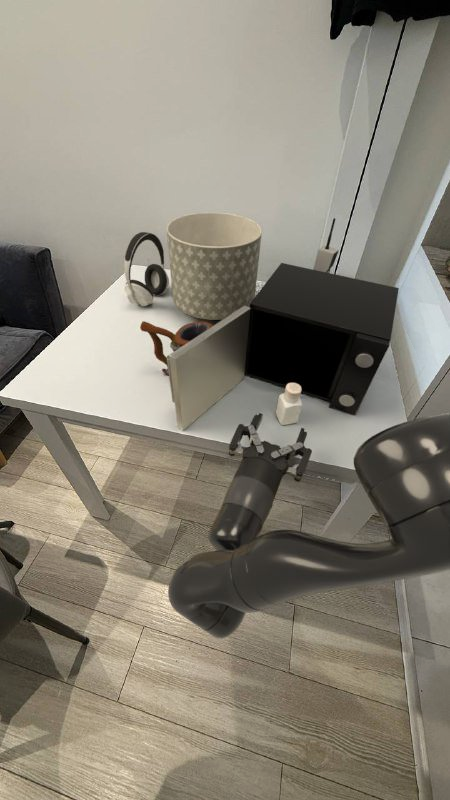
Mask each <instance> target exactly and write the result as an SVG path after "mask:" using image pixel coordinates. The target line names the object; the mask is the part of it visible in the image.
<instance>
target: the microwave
mask: <svg viewBox="0 0 450 800" xmlns="http://www.w3.org/2000/svg"><path fill="white" fill-rule="evenodd" d="M398 296H399V287H397V286H396V287H395V286H391V285H387V284H382V283H378V282H373V281H368V280H364V279H358V278H354V277H349V276H345V275H340V274H336V273H326V272H322V271H317V270H314V269H312V268H307V267H303V266H298V265H293V264H290V263H289V264H288V263H285V262H280V264H279V265H278V266H277V268H276V269H275V270H274V272H273V273H272V274H271V276H270V277H269V278H268V279H267V280H266V282H265V283H264V285H263V286H262V287H261V289H260V290H259V291H258V292H257V293H256V294H255V298H254V299H253V300H252V302H251V303H250V307H249V308H251V311H250V321H249V331H248V341H247V352H246V362H245V372H244V377H247V378H251V379H254V380H257V381H260V382H263V383H266V384H270V385H273V386H275V387H278V388H282V389H285V388H286V385H287V384H289V383H297V384H299V385H300V386H301V389H302V391H301V394H300V395H304V396H307V397H310V398H314V399H317V400H319V401H322V402H326V403H328V404H329V405H328V407H329V408H331V409H334V410H337V411H340V412H343V413H347V414H349V415H352V416H356V415H357V413H358V410H359V409H360V406H361V404H362V402H363V401H364V398H365V396H366V395H367V392H368V391H369V388H370V386H371V384H372V382H373V380H374V379H375V376H376V374H377V372H378V369H379V368H380V366H381V363H382V362H383V359H384V358H385V355H386V353H387V351H388V349H389V347H390V344H391V339H392V333H393V327H394V320H395V314H396V309H397V301H398Z"/></svg>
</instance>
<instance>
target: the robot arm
mask: <svg viewBox="0 0 450 800" xmlns="http://www.w3.org/2000/svg"><path fill="white" fill-rule="evenodd" d="M263 415H264V414H263V413H261V412H259V413H258V414H254V415H253V417H252V419H251V422H250V424H249V425H244V424H243V423H239V424H238V425H237V427H236V429H235V431H234V434H233V436H232V438H231V440H230V442H229V446H228V455H229V456H230V457H234V456H235V455H236V456H240V457H242V458H241V461H240V463H239V465H238V467H237V469H236V472H235V474H234V475H233V477H232V480H231V482H230V484H229V486H228V488H227V490H226V492H225V495H224V498H223V502H222V504H221V507H220V509H219V511H218V513H217V515H216V517H215V519H214V521H213V523H212V525H211V527H210V529H209V532H208V542H209V544H210V545H211V547H212V549H213V550H212V551H205V552H200V553H197V554H194V555H192V556H190V557H188V558H187V559H185V560H184V561H183V562H182V563H180V564H179V565H178V566H177V568H176V569H175V570H174V572H173V573H172V576H171V578H170V580H169V583H168V589H167V594H168V600H169V604H170V606H171V607H172V608H173V610H174V611H175V612H176V613H178V614H179V615H180V616H182V617H183V618H185V619H186V620H188V621H189V622H190V623H192V624H194V625H195V626H196V627H198V628H199V629H201V630H202V631H204V632H205V633H207V634H209V635H210V636H211V637H213V638H216V639H219V640H220V639H221V640H222V639H226V638H228V637H230V636H231V635H232V634H234V633H235V632H236V630H238V629H239V627H240V625H241V624H242V622H243V620H244V619H245V616H246V613H247V614H249V613H251V614H252V613H257V612H261V611H263V610H268V609H270V608H272V607H276V606H279V605H282V604H284V603H287V602H289V601H292V600H295V599H298V598H303V597H306V596H313V595H317V594H323V593H329V592H336V591H342V590H349V589H356V588H364V587H369V586H375V585H381V584H387V583H391V582H396V581H402V580H408V579H413V578H419V577H425V576H430V575H434V574H435V575H436V574H440V573H444V572H448V571H450V412H447V413H446V412H445V413H441V414H440V413H439V414H433V415H428V416H424V417H423V416H422V417H418V418H415V419H414V418H413V419H411V420H408V421H403V422H401V423H398V424H395V425H392V426H390V427H387V428H385V429H383V430H381V431H379V432H378V433H376V434H373V435H372V436H370V437H369V438H368V439H366V440H365V441H363V442H362V444H360V446H359V447H358V448H357V449H356V451H355V453H354V456H353V468H354V469H355V473H356V475H357V478H358V480H359V482H360V484H361V486H362V487H363V489H364V492H365V493H366V494H367V497H368V498H369V501H370V502H371V504H372V505H373V507H374V509H375V511H376V512H377V514H378V516H379V518H380V520H381V521H382V523H383V525H384V526H385V528H386V529H387V532H388V534H389V536H390V539H387V540H383V541H379V542H371V543H353V542H347V541H340V540H335V539H332V538H327V537H323V536H319V535H316V534H313V533H308V532H304V531H301V530H294V529H276V530H271V531H268V532H266V533H263V534H261V532H262V530H263V526H264V524H265V522H266V520H267V519H268V517H269V514H270V512H271V510H272V508H273V505H274V501H275V498H276V496H277V493H278V491H279V488H280V485H281V483H282V479H283V477H284V476H285V475H289V476H290V477H293V480H294V481H295V482H296V483H299V482H301V481H302V479H303V476H304V473H305V471H306V469H307V466H308V463H309V461H310V459H311V456H312V454H313V450H312V449H311V448H310V447H306V446H305V441H306V439H307V436H308V432H307V431H305V430H306V428H304V427H300V430H299V433H298V437H297V439H296V441H295V443H294V444H292V445H290V444H288V445H286V446H284V447H282V448H281V446H280V445H278V444H274V443H271V442H270V441H267V440H261V439H260V436H259V434H258V433H257V431H258V429H259V427H260V425H261V423H262V420H263ZM244 436H247V439H248V442H249V446H247V447H245V448H242V447H243V445H242V439H243V437H244ZM298 456H299V457H301V459H300V461H299V463H296V464H293V466H290V465H289V462H291V460H292V459H293V458H295V457H298ZM260 534H261V535H260Z"/></svg>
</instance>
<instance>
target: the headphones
mask: <svg viewBox="0 0 450 800" xmlns="http://www.w3.org/2000/svg"><path fill="white" fill-rule="evenodd" d="M145 241H151V242H152V243H153V244H154V246H155V247H156V249H157V251H158V255H159V256H160V257H159V258H160V264H157V263H151V264H149V265H148V266H147V267H146V268H145V270H144V282H142V281H139V280H137V279H132V278H131V271H132V270H131V269H132V264H133V260H134V257H135V254H136V253H137V250H138V248H139V247H140V245H141V244H142V243H144V242H145ZM123 271H124V276H125V281H126V282H125V285H124V287H123V288H124V292H125V294H126V298H127V300H128V301H129V302H130V303H131V304H133V305H135V306H138V307H140V306H141V307H147V306H148V305H149V306H150V305H152V304H153V302H154V296H162V295H163V294H165V293H166V291H167V290H168V287H169V285H170V277H169V275H168V274H167V270H166V269H165V254H164V248H163V244H162V242H161V240H160V239H159V237H158V236H157V235H156V234H154V233H152V232H148V231H141V232H138V233H136V234H135V235H133V236H132V238H131V239H130V240H129V242H128V244H127V246H126V250H125V253H124V261H123Z"/></svg>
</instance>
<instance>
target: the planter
mask: <svg viewBox="0 0 450 800" xmlns="http://www.w3.org/2000/svg"><path fill="white" fill-rule="evenodd" d="M262 234H263V229H262V227H261V226H260V224H258V223H257V222H256V221H254V220H253V219H250V218H249V217H246V216H242V215H239V214H234V213H228V212H218V211H215V212H214V211H213V212H209V211H208V212H207V211H205V212H196V213H195V212H194V213H189V214H185V215H181V216H179V217H176V218H174V219H172V220H171V221H169V222H168V224H167V225H166V239H167V250H168V261H169V271H170V282H171V292H172V301H173V303H174V305H175V307H176V308H177V309H178V310H179V311H181V312H182V313H184V314H186V315H188V316H190V317H193V318H196V319H203V320H210V321H212V320H213V321H215V320H216V321H218V320H220V321H222V320H223V319H225V318H226V317H228V316H229V315H231V314H232V313H234V312H235V311H237V310H238V309H240V308H241V307H243V306H247V307H250V303H251V302H252V300H253V299H254V298H255V296H256V289H257V280H258V271H259V262H260V252H261V243H262Z"/></svg>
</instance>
